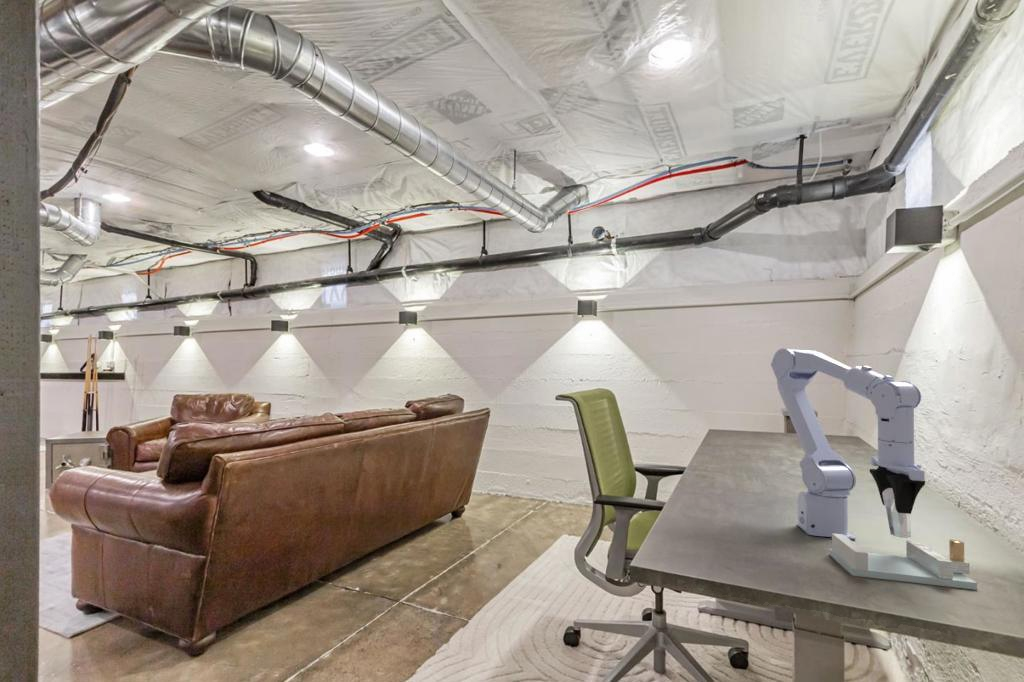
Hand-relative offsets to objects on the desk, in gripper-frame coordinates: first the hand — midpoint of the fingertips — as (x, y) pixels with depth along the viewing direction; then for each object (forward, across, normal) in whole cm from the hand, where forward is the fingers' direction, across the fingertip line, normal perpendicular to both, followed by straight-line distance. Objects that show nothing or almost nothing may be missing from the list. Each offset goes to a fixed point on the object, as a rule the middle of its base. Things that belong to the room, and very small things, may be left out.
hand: (896, 509), depth 95 cm
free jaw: (+9, -6, -4) cm, 11 cm away
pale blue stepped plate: (+10, -6, +3) cm, 12 cm away
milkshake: (+5, 0, -1) cm, 5 cm away
